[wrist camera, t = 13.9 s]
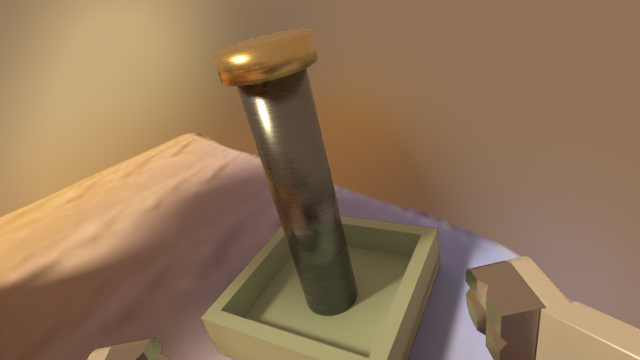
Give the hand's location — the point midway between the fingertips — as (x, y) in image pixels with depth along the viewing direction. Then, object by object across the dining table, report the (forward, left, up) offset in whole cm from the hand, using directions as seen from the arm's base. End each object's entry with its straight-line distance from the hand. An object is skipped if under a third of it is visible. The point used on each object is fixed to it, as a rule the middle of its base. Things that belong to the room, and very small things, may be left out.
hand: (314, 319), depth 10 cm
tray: (-6, +9, -11) cm, 15 cm away
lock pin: (-6, +9, -10) cm, 14 cm away
